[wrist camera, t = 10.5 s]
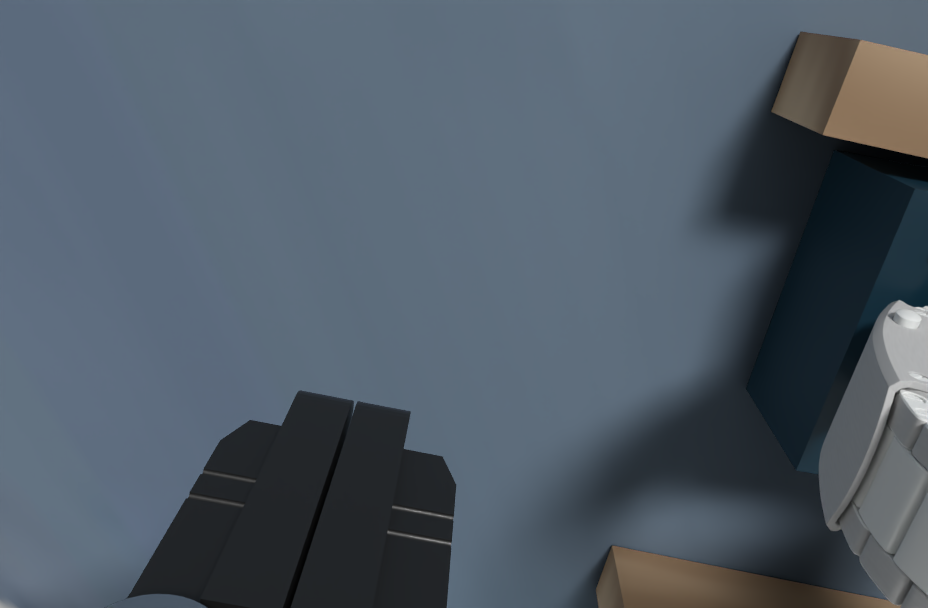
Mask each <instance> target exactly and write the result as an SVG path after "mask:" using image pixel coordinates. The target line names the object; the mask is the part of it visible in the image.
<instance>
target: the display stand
mask: <svg viewBox="0 0 928 608" xmlns="http://www.w3.org/2000/svg"><path fill="white" fill-rule="evenodd" d="M771 112H773V113H775V114H777V115H779V116H782V117H784V118H786V119H788V120H790V121H793V122H795V123H797V124H799V125H802V126H804V127H806V128H808V129H810V130H813V131H815V132H817V133H819V134H822V135H825V136H830V137H834V138H839V139H843V140H848V141H852V142H857V143H861V144H866V145H870V146H875V147H879V148H883V149H888V150H892V151H897V152H901V153H906V154H910V155H915V156H919V157H924V158H928V55H924V54H920V53H916V52H911V51H907V50H902V49H898V48H894V47H889V46H885V45H881V44H876V43H872V42H867V41H863V40H857V39H850V38H843V37H835V36H828V35H821V34H813V33H806V32H800V35H799V38H798V40H797V43H796V46H795V48H794V51H793V54H792V57H791V59H790V62H789V65H788V68H787V70H786V73H785V76H784V78H783V81H782V84H781V87H780V89H779V92H778V95H777V97H776V100H775V103H774V106H773V108H772V111H771ZM596 594H597V600H598V606H599V608H900V607H901V605H898V606H897V605H894V604H892V603H891V602H890V601H888V600H883V599H878V598H873V597H868V596H863V595H858V594H853V593H848V592H843V591H838V590H833V589H828V588H823V587H818V586H813V585H808V584H803V583H798V582H793V581H788V580H783V579H778V578H773V577H768V576H763V575H758V574H753V573H748V572H743V571H738V570H733V569H728V568H723V567H718V566H713V565H707V564H702V563H697V562H692V561H687V560H682V559H677V558H672V557H667V556H662V555H657V554H652V553H647V552H642V551H637V550H632V549H627V548H622V547H617V546H612V547H611V550H610V552H609V555H608V558H607V561H606V563H605V566H604V569H603V571H602V574H601V577H600V580H599V582H598V585H597V588H596Z"/></svg>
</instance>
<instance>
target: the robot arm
mask: <svg viewBox="0 0 928 608" xmlns="http://www.w3.org/2000/svg"><path fill="white" fill-rule="evenodd" d="M353 406H354V401H352V400H347V399H342V398H337V397H331V396H326V395H321V394H316V393H311V392H306V391H299V392H298V393H297V395H296V397H295V399H294V401H293V403H292V405H291V407H290V409H289V411H288V414H287V416H286V418H285V420H284V422H283V424H282V426H279V425H273V424H268V423H263V422H258V421H253V420H250V421H248V422H247V423H245V424H244V425H242V426H241V427H239V428H238V429H236V430H235V431H233V432H232V433H230V434H229V435H228V436H226V437H225V438H223V439H222V440H220V442H219V443H218V445H217V447H216V449H215V450H214V452H213V454H212V455H211V457H210V459H209V460H208V462H207V464H206V466H205V467H204V470H203V474H200V476H199V477H198V479H197V481H196V483H195V484H194V486H193V488H192V489H191V491H190V495H189V498H188V499H187V498H186V500H185V501H184V503H183V505H182V506H181V508H180V510H179V511H178V513H177V515H176V517H175V518H174V520H173V522H172V523H171V525H170V527H169V529H168V530H167V532H166V534H165V535H164V537H163V539H162V540H161V542H160V544H159V546H158V547H157V549H156V551H155V552H154V554H153V556H152V557H151V559H150V561H149V563H148V564H147V566H146V568H145V569H144V571H143V573H142V574H141V576H140V578H139V580H138V581H137V583H136V585H135V586H134V588H133V590H132V591H131V593H130V594H129V596H128V597H127V599H124V600H122V601H119V602H116V603H113V604H111V605H109V606H107V607H105V608H446V607H447V594H448V582H449V569H450V556H451V542H452V531H453V516H454V506H455V493H456V484H455V482H454V479H453V477H452V475H451V473H450V471H449V469H448V467H447V465H446V463H445V461H444V459H443V457H442V456H437V455H432V454H427V453H421V452H416V451H411V450H406V449H404V443H405V438H406V433H407V428H408V423H409V418H410V413H411V412H410V411H405V410H400V409H395V408H389V407H384V406H379V405H374V404H369V403H363V402H357V404H356V407H355V410H354V413H353ZM352 414H353V416H352Z"/></svg>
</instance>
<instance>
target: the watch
mask: <svg viewBox="0 0 928 608" xmlns="http://www.w3.org/2000/svg"><path fill="white" fill-rule="evenodd" d="M746 390H747V391H748V393H749V394H750V396H751V398H752V399H753V401H754V403H755V404H756V406H757V408H758V409H759V411H760V412H761V414H762V416H763V417H764V419H765V421H766V422H767V424H768V425H769V427H770V429H771V430H772V432H773V434H774V435H775V437H776V439H777V440H778V442H779V443H780V445H781V447H782V448H783V450H784V452H785V453H786V455H787V456H788V458H789V460H790V461H791V463H792V465H793V466H794V468H795V469H796V471H802V472H808V473H813V474H819V487H820V496H821V503H822V508H823V513H824V518H825V522H826V525H827V526H828V527H829V529H830V530H831V531H839V530H842V531H843V533H844V536H845V538H846V540H847V543H848V545H849V547H850V549H851V550H852V552H853V553H854V554H856V555H858V556H860V558H859V561H860V563H861V565H862V567H863V568H864V570H865V571H866V572H867V574H868V575H869V577H870V578H871V579H872V581H873V582H874V583H875V585H876V586H877V587H878V588H879V589H880V591H881V592H882V593H883V594H884V596H885V597H886V598H887V599H888V600H889V601H890V602H891V603H892V604H894V605H897V606H898V605H901V607H900V608H928V167H924V166H919V165H913V164H908V163H902V162H897V161H891V160H886V159H880V158H875V157H869V156H864V155H858V154H853V153H847V152H842V151H836V150H834V152H833V154H832V157H831V160H830V163H829V165H828V168H827V171H826V173H825V176H824V179H823V182H822V184H821V187H820V190H819V192H818V195H817V198H816V200H815V203H814V206H813V209H812V211H811V214H810V217H809V219H808V222H807V225H806V228H805V230H804V233H803V236H802V238H801V241H800V244H799V247H798V249H797V252H796V255H795V257H794V260H793V263H792V265H791V268H790V271H789V274H788V276H787V279H786V282H785V284H784V287H783V290H782V293H781V295H780V298H779V301H778V303H777V306H776V309H775V311H774V314H773V317H772V320H771V322H770V325H769V328H768V330H767V333H766V336H765V339H764V341H763V344H762V347H761V349H760V352H759V355H758V357H757V360H756V363H755V366H754V368H753V371H752V374H751V376H750V379H749V382H748V385H747V387H746Z"/></svg>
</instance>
